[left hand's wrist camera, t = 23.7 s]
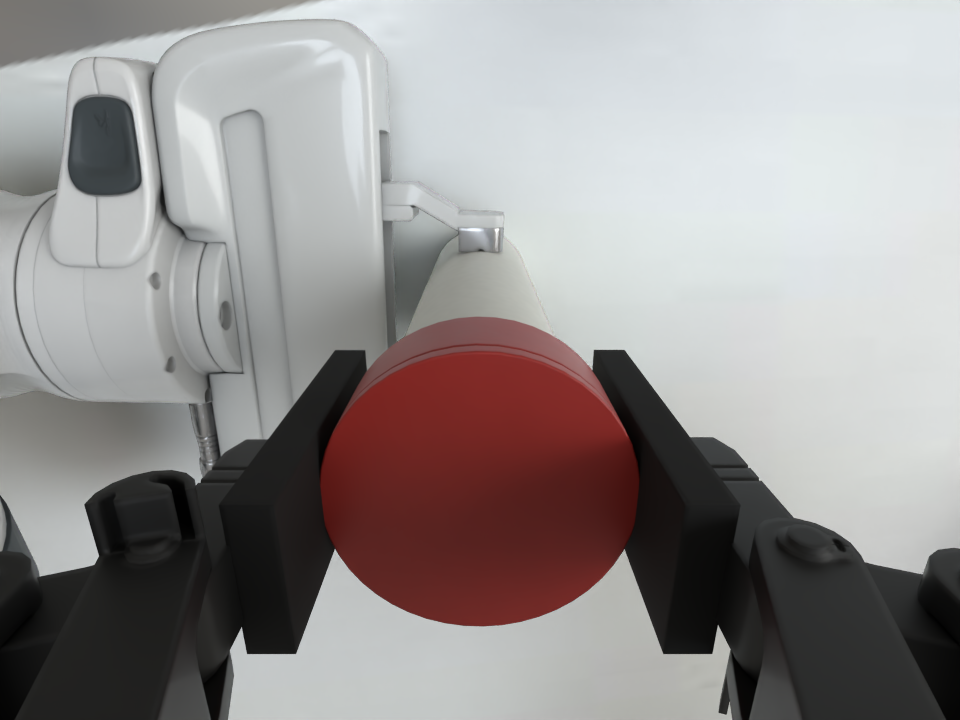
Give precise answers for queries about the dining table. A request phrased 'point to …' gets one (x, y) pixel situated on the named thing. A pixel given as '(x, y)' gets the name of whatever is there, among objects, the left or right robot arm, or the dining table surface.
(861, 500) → the dining table surface
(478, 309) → the white cylinder
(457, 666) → the dining table surface
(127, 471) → the dining table surface
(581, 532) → the lid
